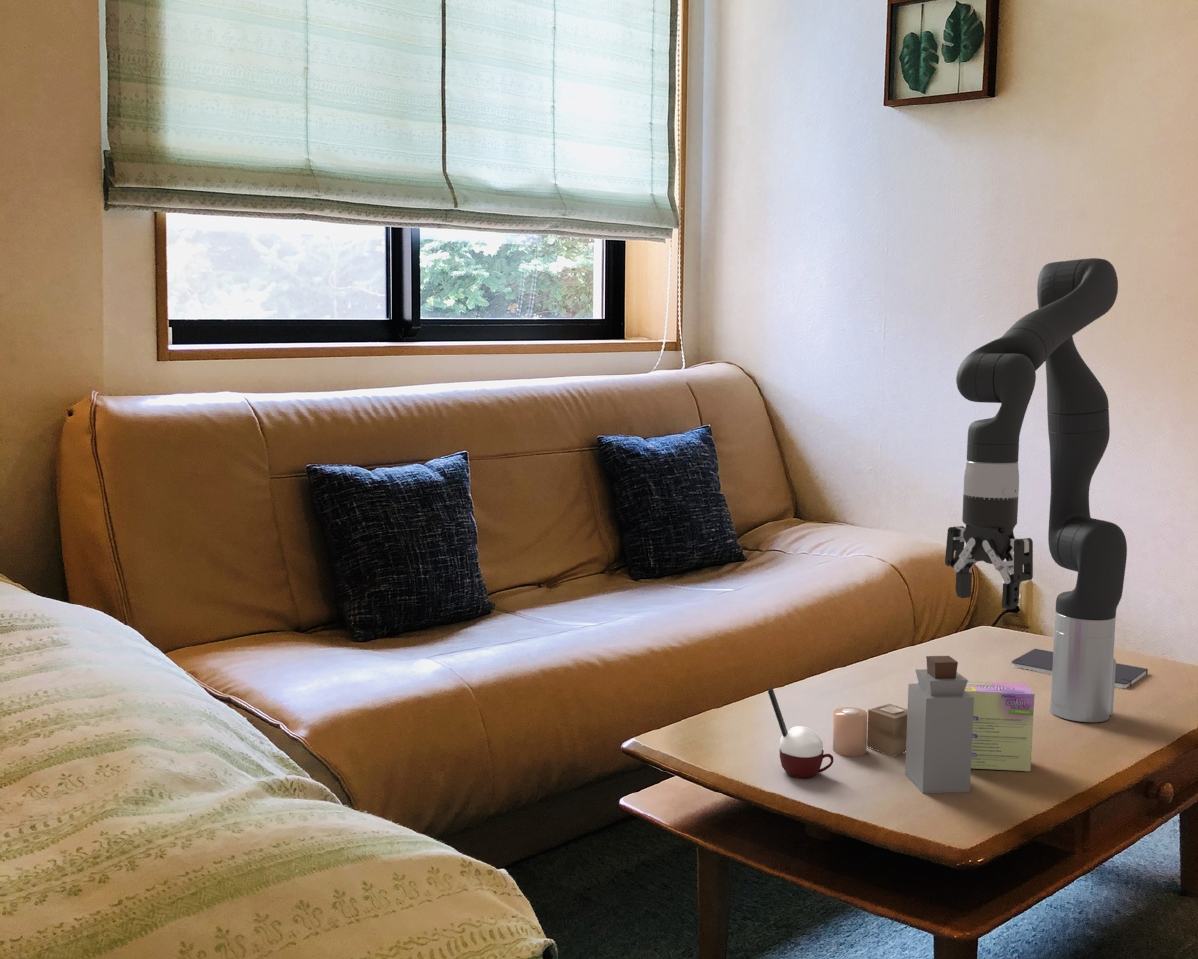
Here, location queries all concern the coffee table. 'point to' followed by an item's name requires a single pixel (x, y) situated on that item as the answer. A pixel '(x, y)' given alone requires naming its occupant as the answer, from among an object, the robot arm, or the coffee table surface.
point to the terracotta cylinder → (850, 731)
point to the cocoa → (799, 747)
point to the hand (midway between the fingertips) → (985, 602)
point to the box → (1001, 725)
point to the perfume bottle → (939, 728)
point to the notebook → (1044, 664)
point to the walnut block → (887, 729)
